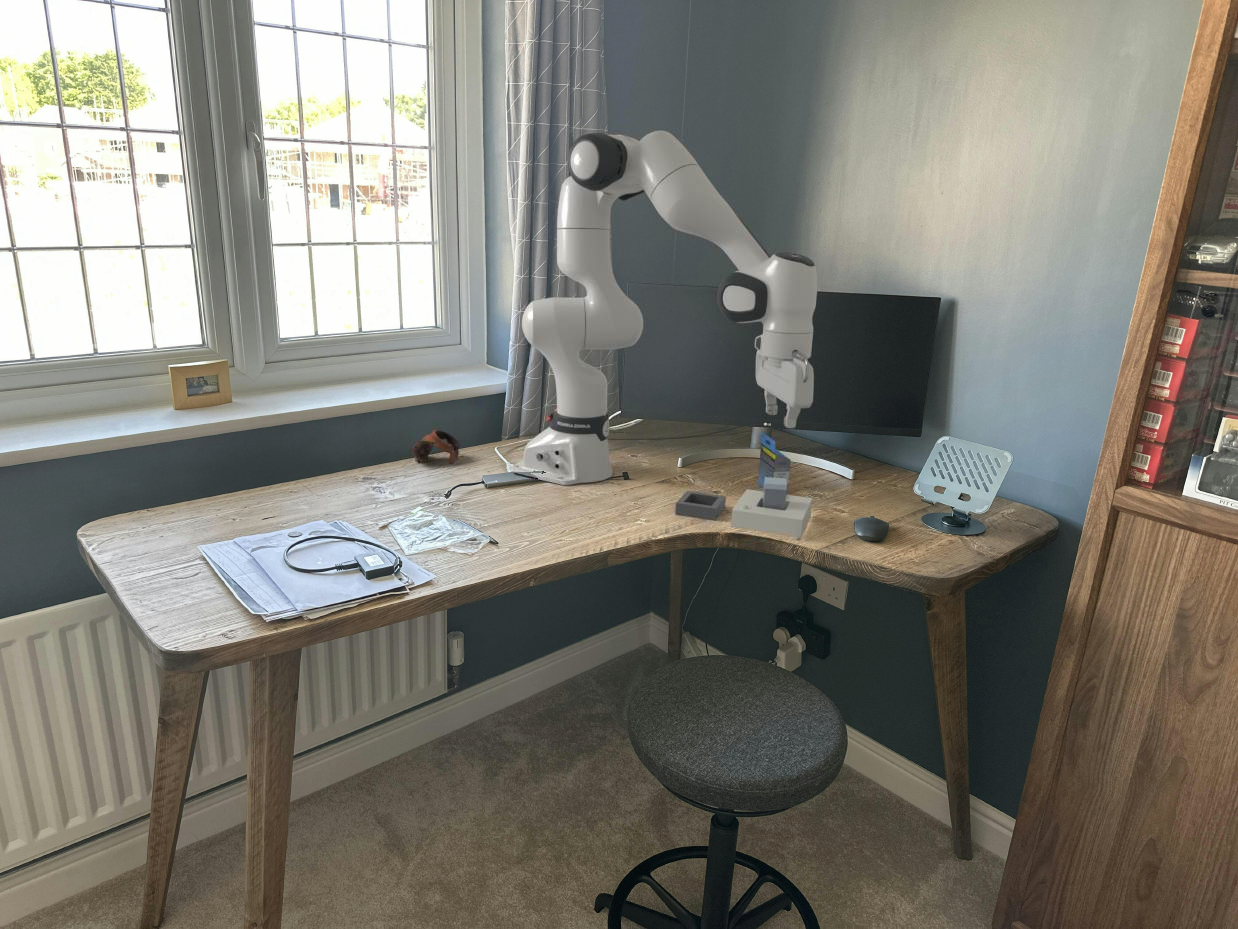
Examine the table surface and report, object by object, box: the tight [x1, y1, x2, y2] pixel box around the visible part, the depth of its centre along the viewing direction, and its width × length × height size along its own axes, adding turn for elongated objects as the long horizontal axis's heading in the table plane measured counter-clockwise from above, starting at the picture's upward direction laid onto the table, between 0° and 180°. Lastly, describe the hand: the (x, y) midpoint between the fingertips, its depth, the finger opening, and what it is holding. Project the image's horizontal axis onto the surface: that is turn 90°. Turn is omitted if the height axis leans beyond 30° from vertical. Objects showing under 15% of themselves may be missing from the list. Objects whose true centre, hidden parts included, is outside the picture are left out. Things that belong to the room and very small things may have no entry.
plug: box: [762, 477, 787, 511], centre depth 159 cm, size 4×4×8 cm
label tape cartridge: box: [757, 430, 792, 495], centre depth 177 cm, size 9×4×12 cm, turn 11°
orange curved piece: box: [412, 429, 461, 465], centre depth 192 cm, size 12×10×8 cm
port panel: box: [730, 489, 813, 541], centre depth 159 cm, size 13×13×4 cm
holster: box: [674, 490, 727, 522], centre depth 164 cm, size 8×8×3 cm
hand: (780, 420), depth 154 cm, fingers open, 8 cm apart
